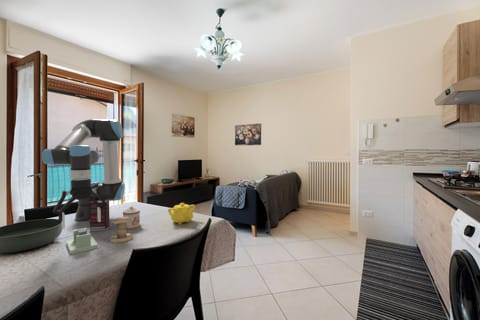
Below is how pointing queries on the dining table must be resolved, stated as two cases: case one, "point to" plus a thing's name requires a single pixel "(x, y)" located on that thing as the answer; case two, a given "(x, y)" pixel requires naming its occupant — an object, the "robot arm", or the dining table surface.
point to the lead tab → (81, 231)
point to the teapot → (181, 213)
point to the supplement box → (94, 217)
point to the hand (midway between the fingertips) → (82, 224)
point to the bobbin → (121, 230)
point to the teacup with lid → (132, 217)
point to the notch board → (75, 250)
